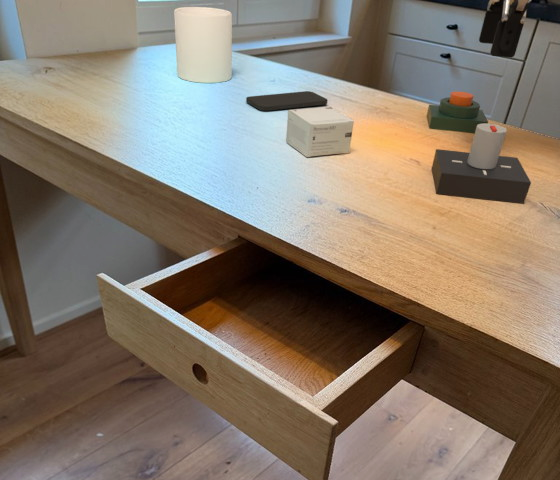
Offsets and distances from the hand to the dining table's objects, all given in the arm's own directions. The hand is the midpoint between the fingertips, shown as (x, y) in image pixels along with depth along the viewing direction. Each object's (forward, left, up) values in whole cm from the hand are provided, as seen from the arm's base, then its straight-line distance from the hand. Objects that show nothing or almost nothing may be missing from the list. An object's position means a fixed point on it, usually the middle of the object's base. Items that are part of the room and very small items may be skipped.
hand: (495, 49), depth 81 cm
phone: (+32, -22, -16) cm, 42 cm away
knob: (0, +11, -13) cm, 17 cm away
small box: (+24, +2, -16) cm, 29 cm away
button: (0, -19, -12) cm, 22 cm away
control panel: (0, +11, -16) cm, 19 cm away
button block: (0, -19, -16) cm, 24 cm away
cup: (+52, -37, -16) cm, 65 cm away
